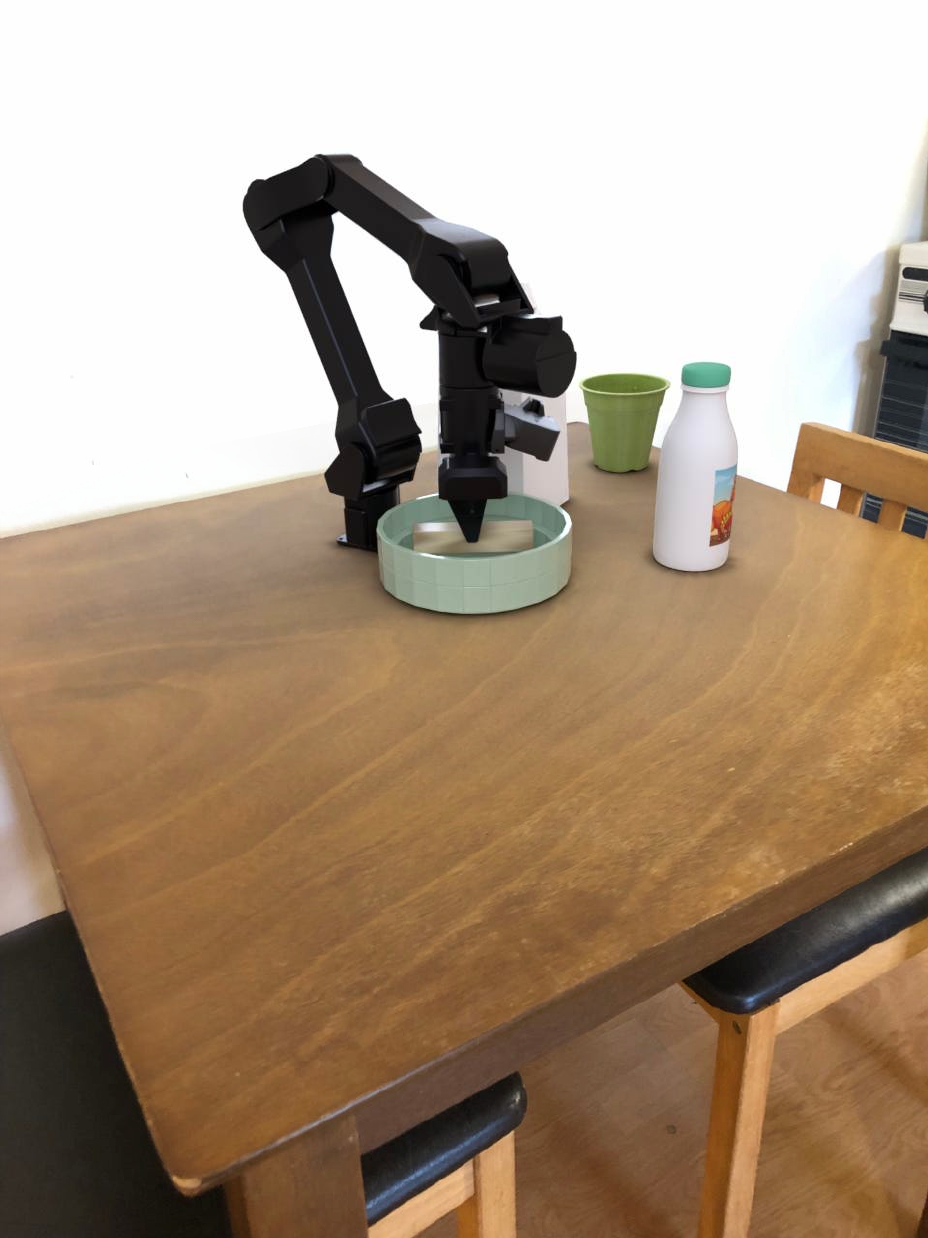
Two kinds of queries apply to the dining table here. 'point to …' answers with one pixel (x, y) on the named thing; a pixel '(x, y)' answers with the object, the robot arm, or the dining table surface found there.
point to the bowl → (475, 558)
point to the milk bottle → (697, 474)
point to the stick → (490, 540)
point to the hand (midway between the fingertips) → (472, 537)
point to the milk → (525, 468)
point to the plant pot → (623, 417)
